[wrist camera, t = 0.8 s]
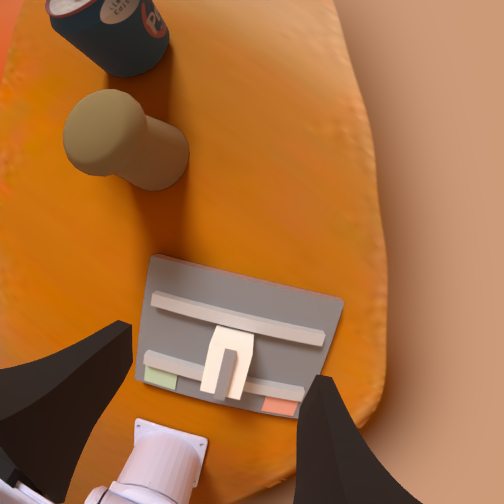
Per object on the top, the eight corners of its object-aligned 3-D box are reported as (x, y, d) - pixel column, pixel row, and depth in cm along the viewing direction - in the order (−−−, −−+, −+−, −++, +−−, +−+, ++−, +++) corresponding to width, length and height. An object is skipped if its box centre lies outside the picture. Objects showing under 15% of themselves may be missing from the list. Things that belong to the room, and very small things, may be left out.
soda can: (187, 48, 23) (146, -34, 11) (127, 96, 24) (55, 40, 12) (149, 13, 23) (103, -59, 11) (95, 57, 23) (28, 2, 11)
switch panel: (300, 410, 27) (302, 425, 25) (140, 371, 27) (130, 384, 25) (340, 297, 26) (347, 306, 23) (156, 253, 26) (146, 257, 23)
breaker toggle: (242, 373, 25) (239, 404, 20) (208, 365, 25) (198, 394, 20) (254, 332, 24) (252, 358, 20) (217, 323, 24) (208, 347, 20)
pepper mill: (203, 160, 24) (162, 126, 14) (147, 205, 25) (76, 205, 14) (164, 109, 24) (108, 55, 13) (112, 153, 25) (34, 128, 14)
